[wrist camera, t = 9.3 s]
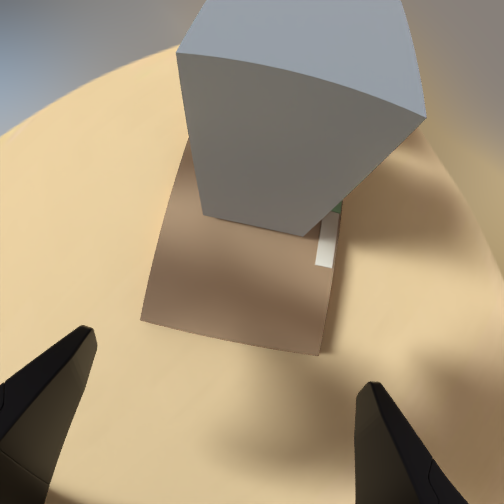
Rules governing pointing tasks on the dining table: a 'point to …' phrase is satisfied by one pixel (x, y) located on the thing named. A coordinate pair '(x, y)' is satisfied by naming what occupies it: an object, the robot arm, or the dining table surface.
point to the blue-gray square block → (294, 104)
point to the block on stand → (239, 275)
